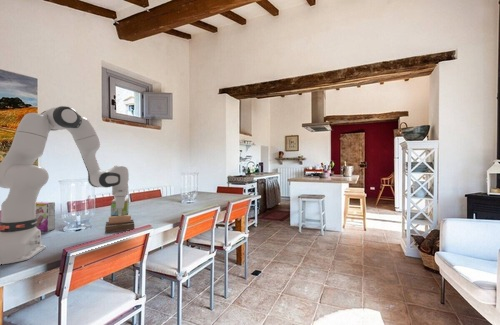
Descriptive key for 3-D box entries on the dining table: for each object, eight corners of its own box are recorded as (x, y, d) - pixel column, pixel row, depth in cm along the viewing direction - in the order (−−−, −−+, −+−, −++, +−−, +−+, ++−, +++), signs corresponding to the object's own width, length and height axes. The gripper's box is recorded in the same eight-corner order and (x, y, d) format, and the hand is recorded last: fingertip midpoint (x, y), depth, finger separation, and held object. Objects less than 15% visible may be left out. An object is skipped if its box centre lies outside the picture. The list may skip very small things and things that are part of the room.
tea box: (127, 222, 160) (127, 200, 160) (110, 223, 156) (110, 201, 156) (128, 217, 174) (128, 197, 174) (112, 218, 170) (113, 198, 170)
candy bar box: (29, 231, 138) (30, 202, 138) (38, 228, 143) (38, 201, 143) (47, 231, 137) (47, 203, 137) (55, 229, 142) (55, 201, 142)
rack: (134, 229, 143) (134, 223, 143) (105, 232, 136) (105, 226, 136) (133, 224, 154) (133, 219, 154) (106, 227, 146) (106, 222, 146)
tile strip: (130, 225, 149) (130, 215, 149) (108, 227, 143) (108, 217, 143) (130, 224, 151) (130, 214, 151) (108, 226, 145) (108, 216, 145)
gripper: (114, 190, 155) (114, 211, 154) (114, 193, 137) (113, 217, 137) (125, 190, 158) (125, 211, 157) (126, 193, 140) (125, 216, 140)
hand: (119, 214), depth 147 cm, fingers open, 8 cm apart
